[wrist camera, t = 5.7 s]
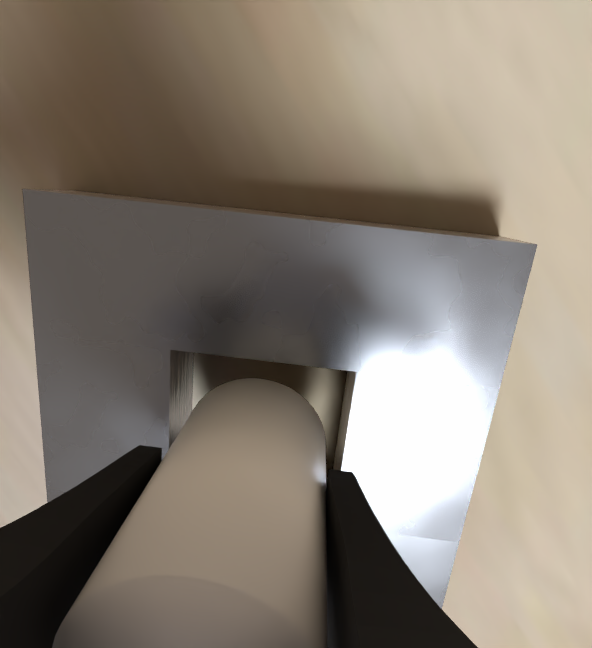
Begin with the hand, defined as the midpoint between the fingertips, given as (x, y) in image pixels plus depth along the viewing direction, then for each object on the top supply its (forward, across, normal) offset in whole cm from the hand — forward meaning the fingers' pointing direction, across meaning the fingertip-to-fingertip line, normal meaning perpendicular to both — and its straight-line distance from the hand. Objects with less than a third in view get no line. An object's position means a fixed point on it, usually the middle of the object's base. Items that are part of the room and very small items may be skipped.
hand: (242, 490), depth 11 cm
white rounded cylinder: (+2, 0, 0) cm, 2 cm away
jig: (+5, 0, +2) cm, 5 cm away
